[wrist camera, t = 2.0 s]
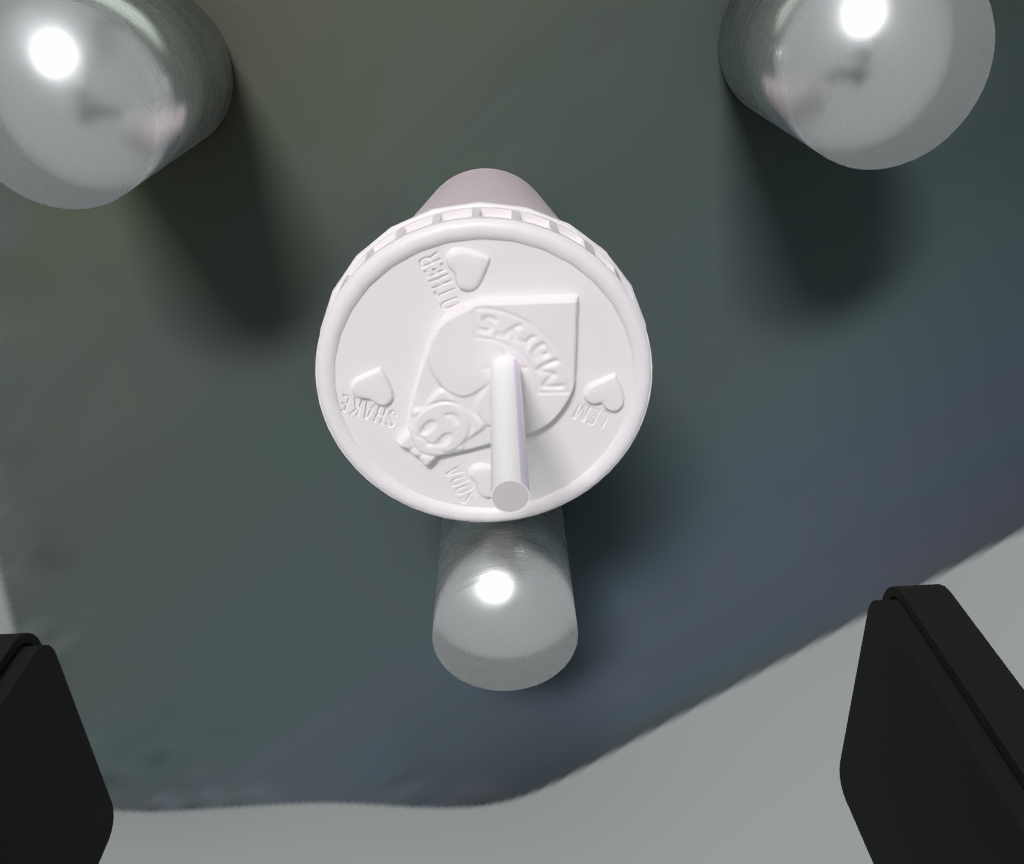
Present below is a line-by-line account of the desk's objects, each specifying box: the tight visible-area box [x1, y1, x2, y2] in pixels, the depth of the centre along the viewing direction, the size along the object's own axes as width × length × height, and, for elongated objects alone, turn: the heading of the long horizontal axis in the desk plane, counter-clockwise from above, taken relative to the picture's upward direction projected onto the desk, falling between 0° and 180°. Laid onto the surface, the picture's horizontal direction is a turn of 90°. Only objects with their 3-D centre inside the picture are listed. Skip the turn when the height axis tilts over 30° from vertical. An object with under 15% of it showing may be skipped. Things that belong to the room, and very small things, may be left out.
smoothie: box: [315, 168, 652, 522], centre depth 19 cm, size 6×6×14 cm
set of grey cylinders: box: [0, 0, 995, 691], centre depth 23 cm, size 18×20×6 cm
